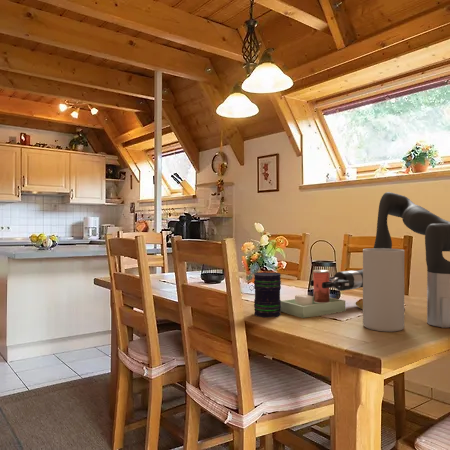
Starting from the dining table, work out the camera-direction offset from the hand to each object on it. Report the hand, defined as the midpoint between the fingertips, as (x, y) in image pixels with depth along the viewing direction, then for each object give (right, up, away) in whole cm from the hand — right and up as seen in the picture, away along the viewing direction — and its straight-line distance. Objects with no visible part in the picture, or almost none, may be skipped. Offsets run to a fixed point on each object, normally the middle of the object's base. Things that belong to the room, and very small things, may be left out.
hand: (316, 284), depth 164 cm
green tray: (-2, -10, -1) cm, 10 cm away
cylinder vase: (+16, -11, -25) cm, 32 cm away
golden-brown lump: (+23, -10, -2) cm, 26 cm away
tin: (+2, -7, +1) cm, 7 cm away
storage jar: (-19, -10, -6) cm, 23 cm away
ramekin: (-6, -9, -3) cm, 11 cm away
